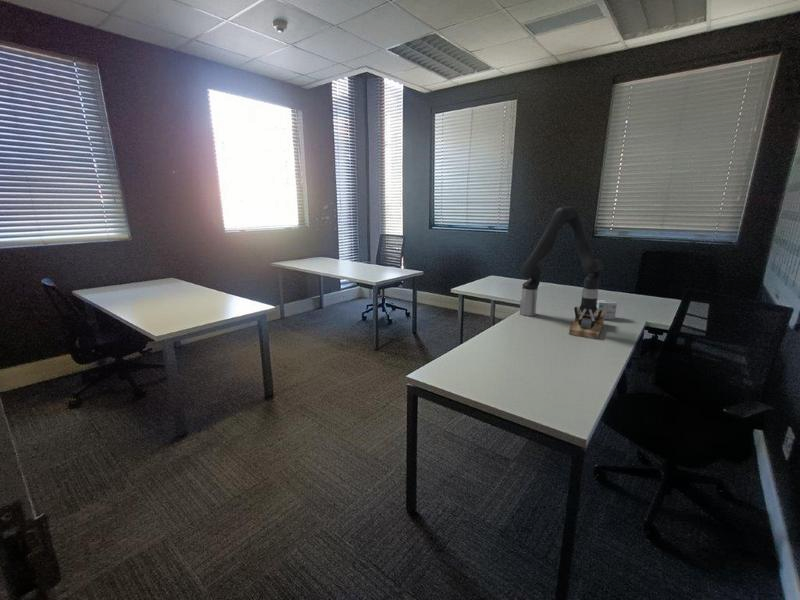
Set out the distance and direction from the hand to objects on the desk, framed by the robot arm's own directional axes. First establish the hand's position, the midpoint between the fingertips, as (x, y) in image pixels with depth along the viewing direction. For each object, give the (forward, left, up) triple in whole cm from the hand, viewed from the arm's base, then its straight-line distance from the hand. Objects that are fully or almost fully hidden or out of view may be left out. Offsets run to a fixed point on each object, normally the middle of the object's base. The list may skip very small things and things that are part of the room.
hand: (586, 326), depth 200 cm
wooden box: (0, +8, -4) cm, 9 cm away
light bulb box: (+6, +36, -4) cm, 37 cm away
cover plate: (0, +5, -1) cm, 5 cm away
